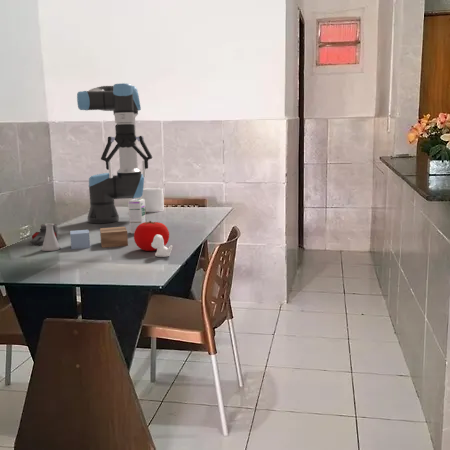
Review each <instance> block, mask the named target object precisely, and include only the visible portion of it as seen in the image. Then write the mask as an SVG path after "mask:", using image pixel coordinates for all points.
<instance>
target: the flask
mask: <svg viewBox="0 0 450 450" xmlns="http://www.w3.org/2000/svg"><path fill="white" fill-rule="evenodd" d="M44 224H45V226H46V235H45V239H44V243H43V245H41V246H42V247H41V251H43V252H45V251H46V252H47V251H48V252H51V251H59V250H60V249H62V248H61V246H60V243H59V241H58V238H57V239H56V236H55V234H54V230H53V225H54V223H44Z"/></svg>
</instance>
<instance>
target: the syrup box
mask: <svg viewBox="0 0 450 450" xmlns="http://www.w3.org/2000/svg"><path fill="white" fill-rule="evenodd" d="M127 204H128V207H127V208H128V219H129V220H128V221H129V231H130V234H133V235H134V233H135V230H136V228H137V227H138V226H139V225H140V224H142V223H144V222H147V212H146V210H145V199H142V198H134V199H129V200H128V202H127Z"/></svg>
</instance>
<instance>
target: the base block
mask: <svg viewBox="0 0 450 450" xmlns="http://www.w3.org/2000/svg"><path fill="white" fill-rule="evenodd" d="M99 232H100V233H99V235H100V243H101V248H113V247H115V248H116V247H126V246H129V241H128V230H127V228H126V226H118V227H117V226H116V227H115V226H114V227H102V228H101V227H100V228H99Z"/></svg>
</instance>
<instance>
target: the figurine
mask: <svg viewBox="0 0 450 450" xmlns="http://www.w3.org/2000/svg"><path fill="white" fill-rule="evenodd" d="M151 244H152V247H153V248H155V249H156V248H157V250H156V252H155V254H154V255H155V257H158V258H167V257H169V256H170V255H171V252H172V250H173V245H169V246H168V247H167V246H166V245H165V246H164V240H163V237H162V236H161V235H158V234H157V235H155V236H154V240H153V242H152V243H151Z"/></svg>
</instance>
